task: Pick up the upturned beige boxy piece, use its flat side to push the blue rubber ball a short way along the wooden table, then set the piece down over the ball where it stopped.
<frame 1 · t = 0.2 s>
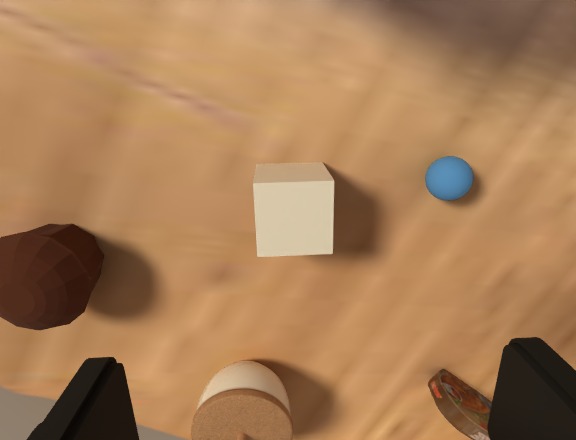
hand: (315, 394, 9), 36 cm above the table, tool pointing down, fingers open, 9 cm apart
muffin: (68, 255, 47), on the table
beige boxy piece: (290, 194, 45), on the table
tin: (457, 388, 57), on the table
lidded bowl: (246, 378, 54), on the table
ball: (448, 178, 42), on the table
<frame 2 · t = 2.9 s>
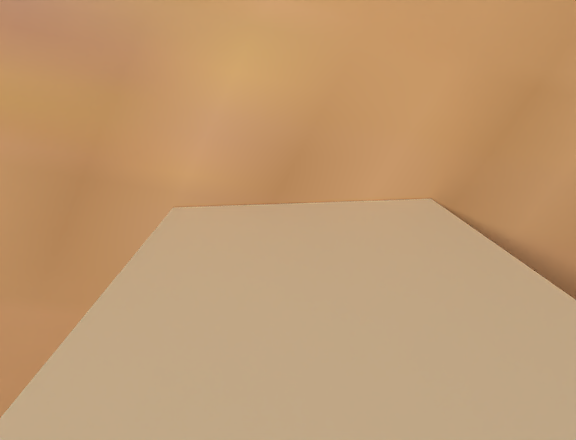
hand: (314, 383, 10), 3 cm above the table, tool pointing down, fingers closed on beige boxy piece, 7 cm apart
beige boxy piece: (304, 313, 12), on the table, touching gripper
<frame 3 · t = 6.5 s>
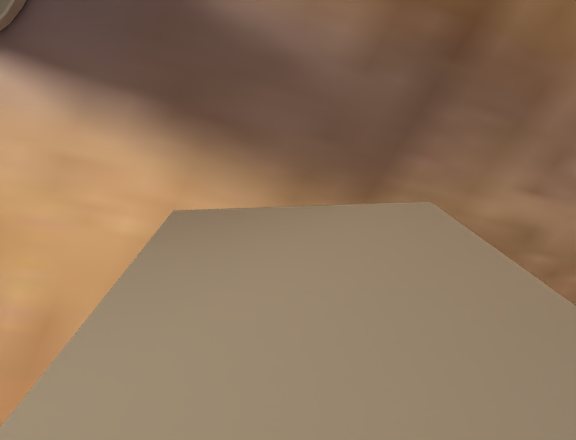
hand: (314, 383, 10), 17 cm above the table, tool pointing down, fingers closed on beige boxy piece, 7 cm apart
beige boxy piece: (304, 316, 12), point 14 cm above the table, touching gripper
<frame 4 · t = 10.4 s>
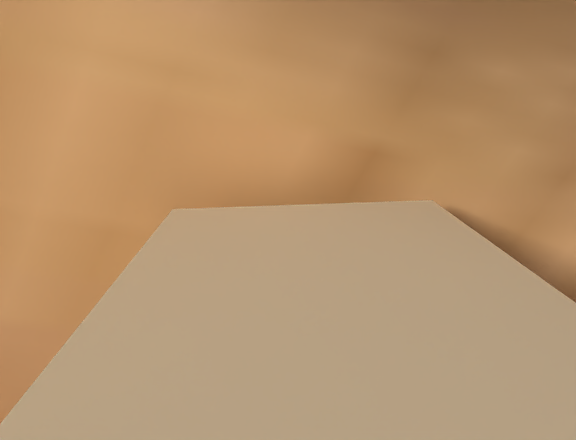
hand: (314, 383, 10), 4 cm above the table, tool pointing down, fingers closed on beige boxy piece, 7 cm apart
beige boxy piece: (304, 315, 12), point 2 cm above the table, touching gripper
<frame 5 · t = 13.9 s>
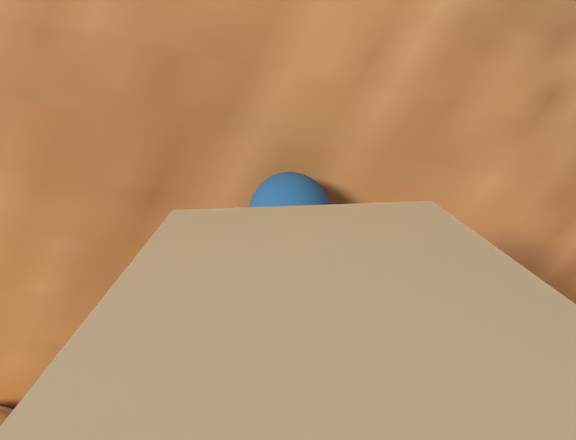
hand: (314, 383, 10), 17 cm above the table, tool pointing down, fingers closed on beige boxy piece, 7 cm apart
beige boxy piece: (304, 316, 12), point 14 cm above the table, touching gripper
ball: (289, 212, 23), on the table
when the fingers open (3 cm above the table, at t = 17.0 s): beige boxy piece stays where it is, on the table.
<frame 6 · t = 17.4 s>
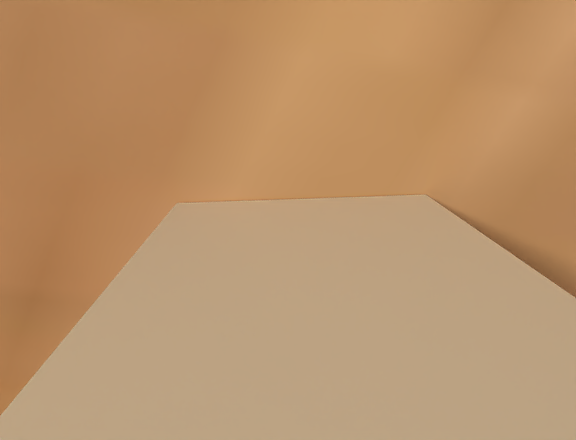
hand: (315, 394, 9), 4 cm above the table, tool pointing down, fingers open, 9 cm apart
beige boxy piece: (303, 306, 13), on the table
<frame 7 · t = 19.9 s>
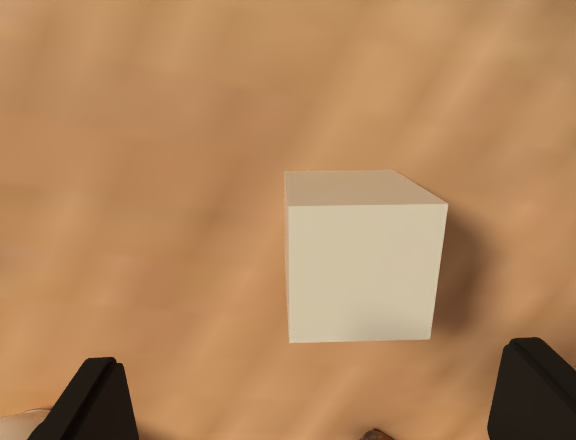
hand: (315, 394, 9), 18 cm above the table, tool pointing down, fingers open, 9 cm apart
beige boxy piece: (337, 222, 27), on the table
lidded bowl: (50, 438, 33), on the table
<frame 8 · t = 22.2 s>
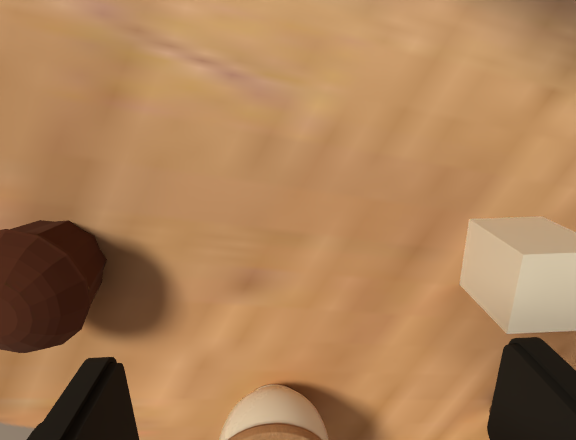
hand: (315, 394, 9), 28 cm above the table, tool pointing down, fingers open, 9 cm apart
muffin: (63, 259, 38), on the table
beige boxy piece: (499, 251, 40), on the table
lidded bowl: (273, 405, 46), on the table
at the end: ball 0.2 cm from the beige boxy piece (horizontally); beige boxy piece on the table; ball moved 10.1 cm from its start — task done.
